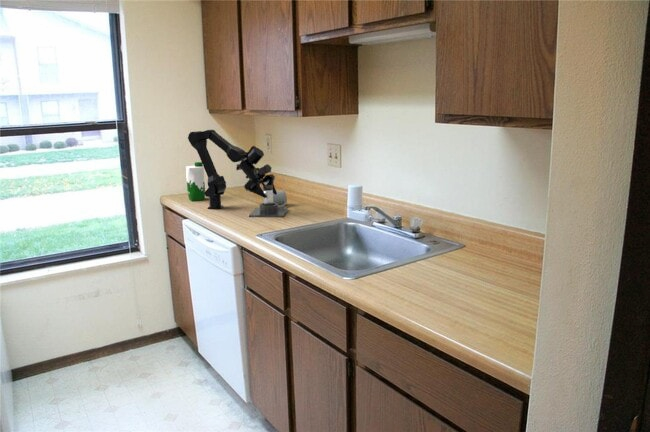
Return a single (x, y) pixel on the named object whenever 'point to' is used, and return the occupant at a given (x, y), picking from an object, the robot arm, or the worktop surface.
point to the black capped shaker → (268, 195)
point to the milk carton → (195, 182)
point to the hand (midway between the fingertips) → (271, 195)
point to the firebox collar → (268, 211)
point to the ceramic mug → (280, 198)
